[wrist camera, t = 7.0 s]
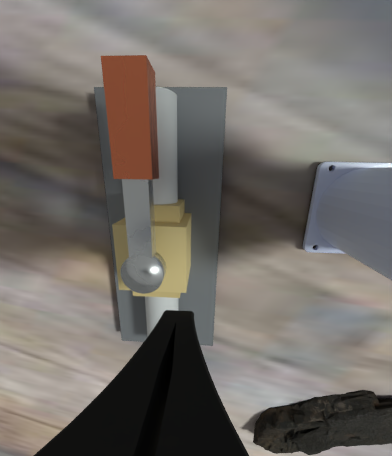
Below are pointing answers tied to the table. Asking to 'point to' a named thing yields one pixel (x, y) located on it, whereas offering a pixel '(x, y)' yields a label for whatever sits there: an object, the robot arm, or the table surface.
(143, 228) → the valve lever
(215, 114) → the valve stand
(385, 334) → the table surface
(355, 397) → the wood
